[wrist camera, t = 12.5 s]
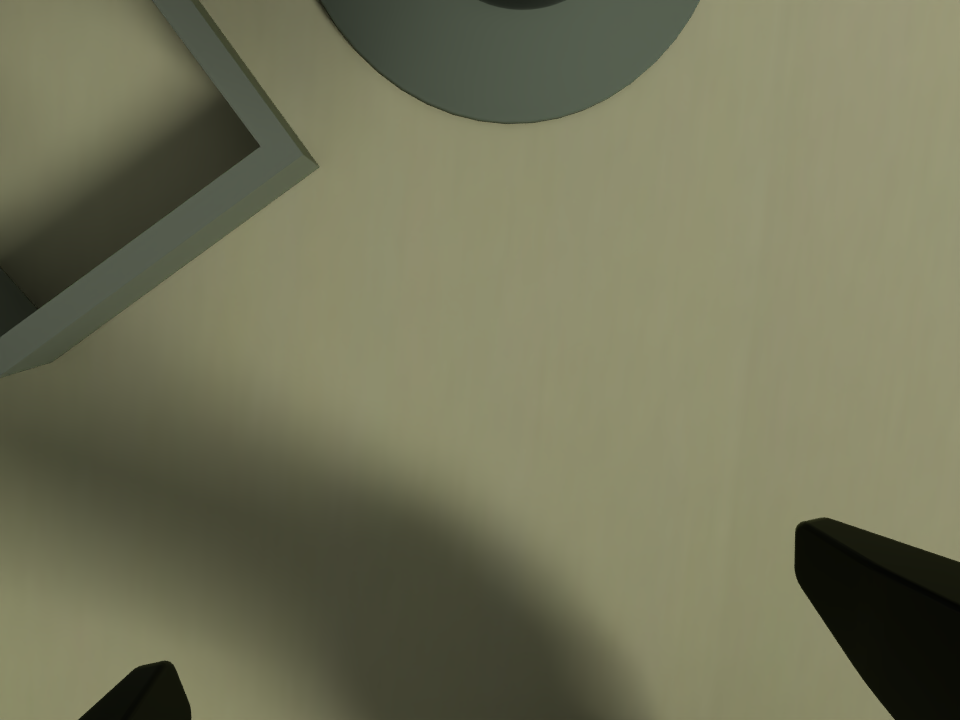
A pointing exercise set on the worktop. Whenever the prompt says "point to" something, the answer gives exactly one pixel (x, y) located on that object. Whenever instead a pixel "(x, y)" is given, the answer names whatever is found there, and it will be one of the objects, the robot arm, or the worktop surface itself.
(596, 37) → the rubber mat
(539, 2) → the supplement bottle
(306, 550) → the worktop surface
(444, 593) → the worktop surface
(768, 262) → the worktop surface
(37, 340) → the square grey tray
